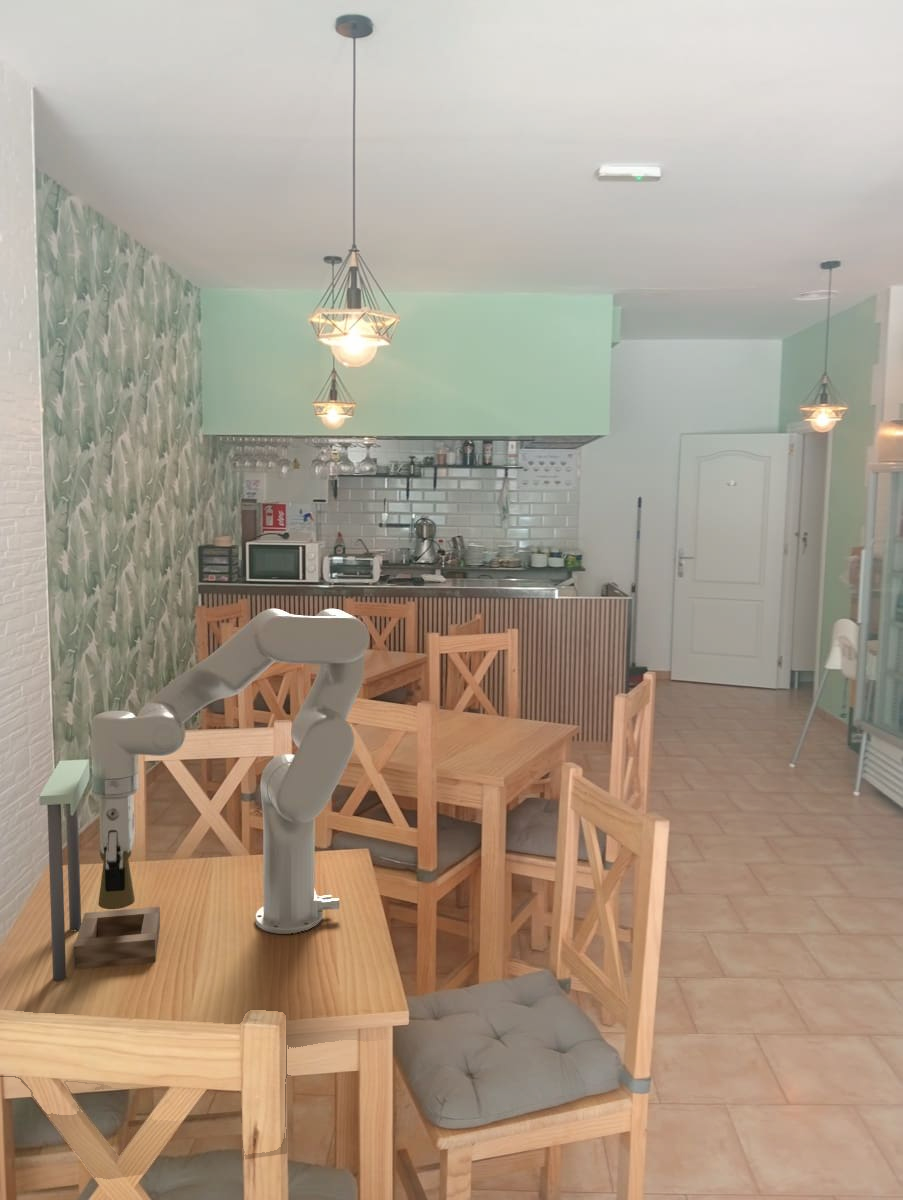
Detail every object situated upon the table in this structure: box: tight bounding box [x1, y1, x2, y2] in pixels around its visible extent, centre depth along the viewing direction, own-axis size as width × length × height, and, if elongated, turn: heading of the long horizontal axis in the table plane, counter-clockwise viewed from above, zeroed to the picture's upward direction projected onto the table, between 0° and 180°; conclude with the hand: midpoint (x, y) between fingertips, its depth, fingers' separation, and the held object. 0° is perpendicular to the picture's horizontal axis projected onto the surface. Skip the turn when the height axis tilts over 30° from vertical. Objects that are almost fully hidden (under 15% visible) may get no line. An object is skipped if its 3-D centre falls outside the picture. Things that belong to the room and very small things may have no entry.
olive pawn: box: [97, 847, 136, 910], centre depth 166 cm, size 6×6×11 cm
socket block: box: [73, 906, 161, 970], centre depth 167 cm, size 13×13×4 cm
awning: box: [39, 759, 91, 982], centre depth 164 cm, size 5×20×32 cm, turn 14°
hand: (116, 883), depth 166 cm, fingers closed on olive pawn, 4 cm apart
